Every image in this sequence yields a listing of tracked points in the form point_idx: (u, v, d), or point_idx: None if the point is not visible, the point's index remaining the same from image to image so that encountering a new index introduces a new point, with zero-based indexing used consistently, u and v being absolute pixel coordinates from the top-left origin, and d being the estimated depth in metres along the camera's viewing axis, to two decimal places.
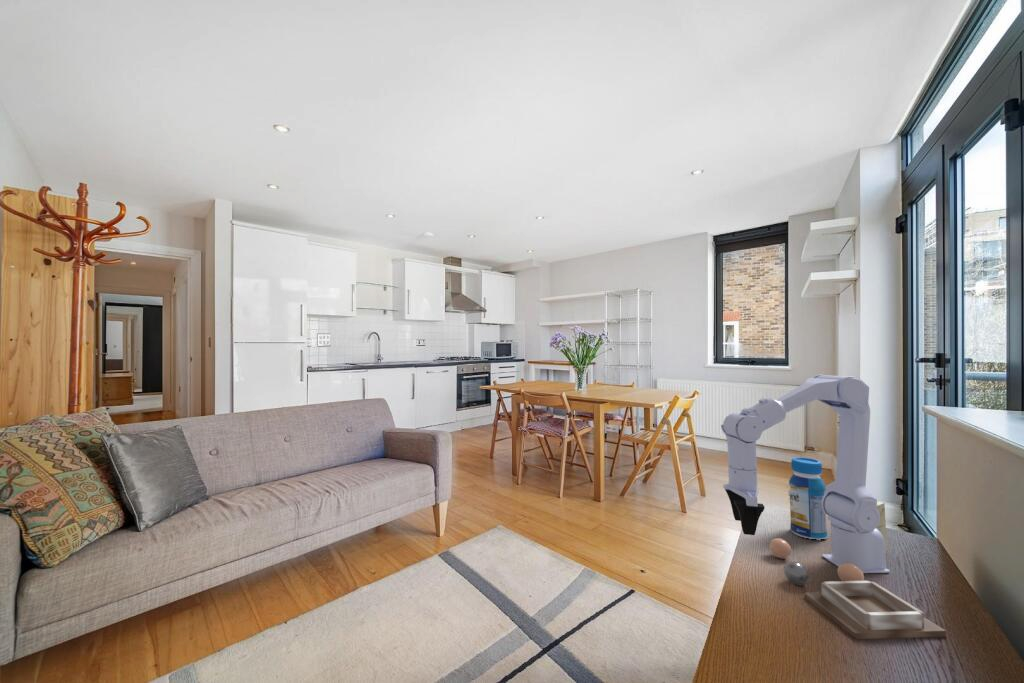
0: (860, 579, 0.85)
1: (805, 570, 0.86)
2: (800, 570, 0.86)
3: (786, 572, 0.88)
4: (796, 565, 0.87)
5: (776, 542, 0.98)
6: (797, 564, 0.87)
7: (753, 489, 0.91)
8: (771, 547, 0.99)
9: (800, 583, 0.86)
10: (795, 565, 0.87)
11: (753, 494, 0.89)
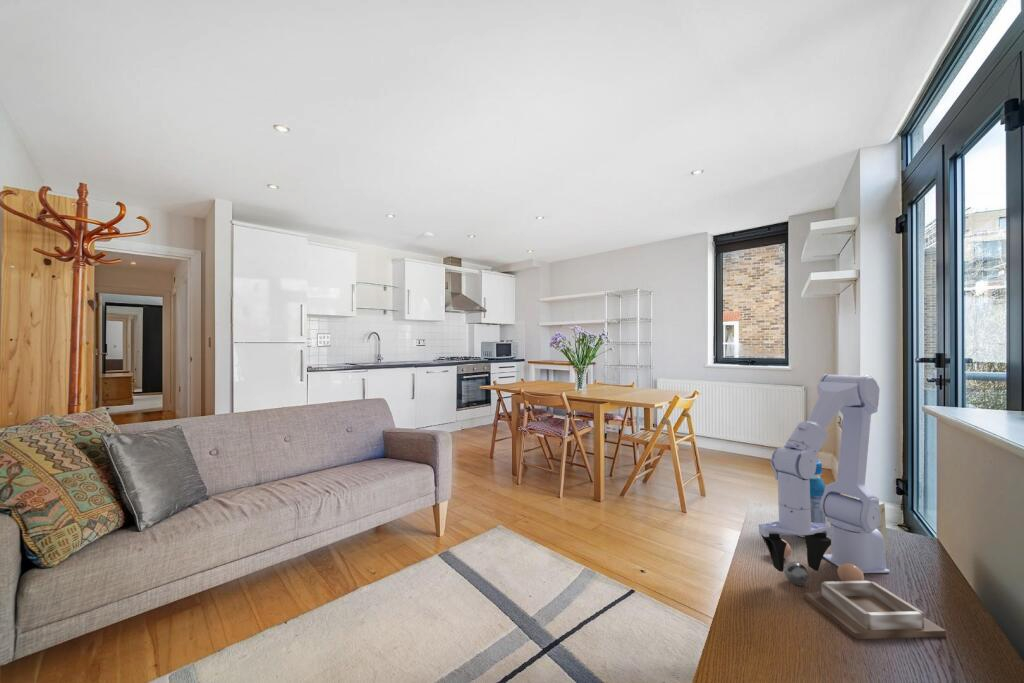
0: (860, 579, 0.85)
1: (805, 570, 0.86)
2: (800, 570, 0.86)
3: (786, 572, 0.88)
4: (796, 565, 0.87)
5: None
6: (797, 564, 0.87)
7: (788, 527, 0.86)
8: None
9: (800, 583, 0.86)
10: (795, 565, 0.87)
11: (775, 528, 0.87)
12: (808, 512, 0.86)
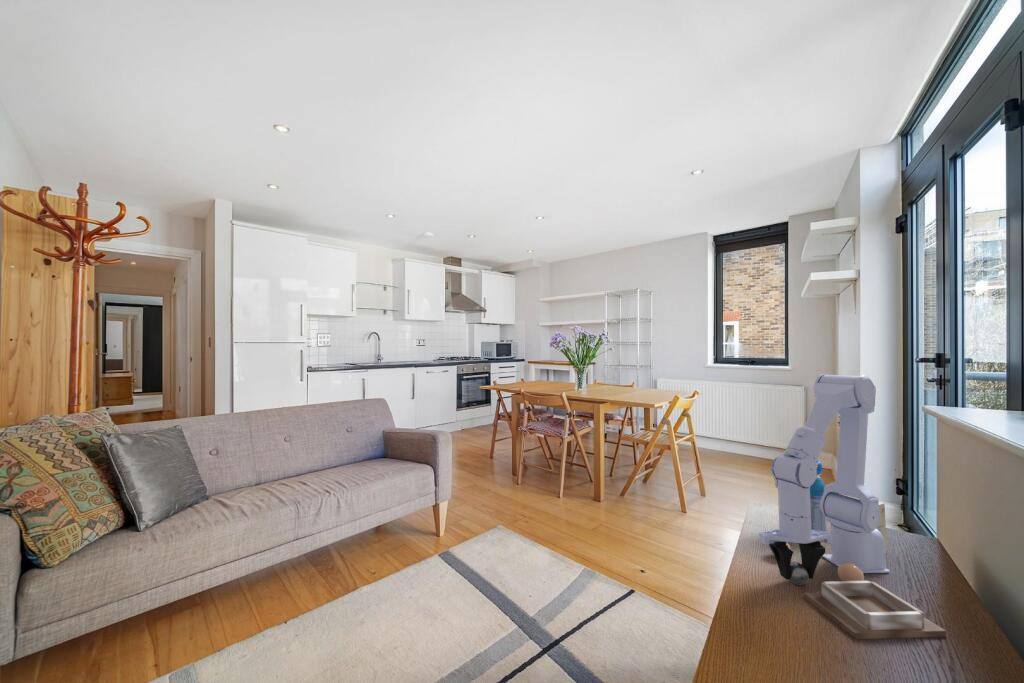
0: (860, 579, 0.85)
1: (805, 570, 0.86)
2: (800, 570, 0.86)
3: None
4: (796, 565, 0.87)
5: None
6: (797, 564, 0.87)
7: (788, 535, 0.86)
8: None
9: (800, 583, 0.86)
10: (795, 565, 0.87)
11: (776, 536, 0.87)
12: (808, 520, 0.85)
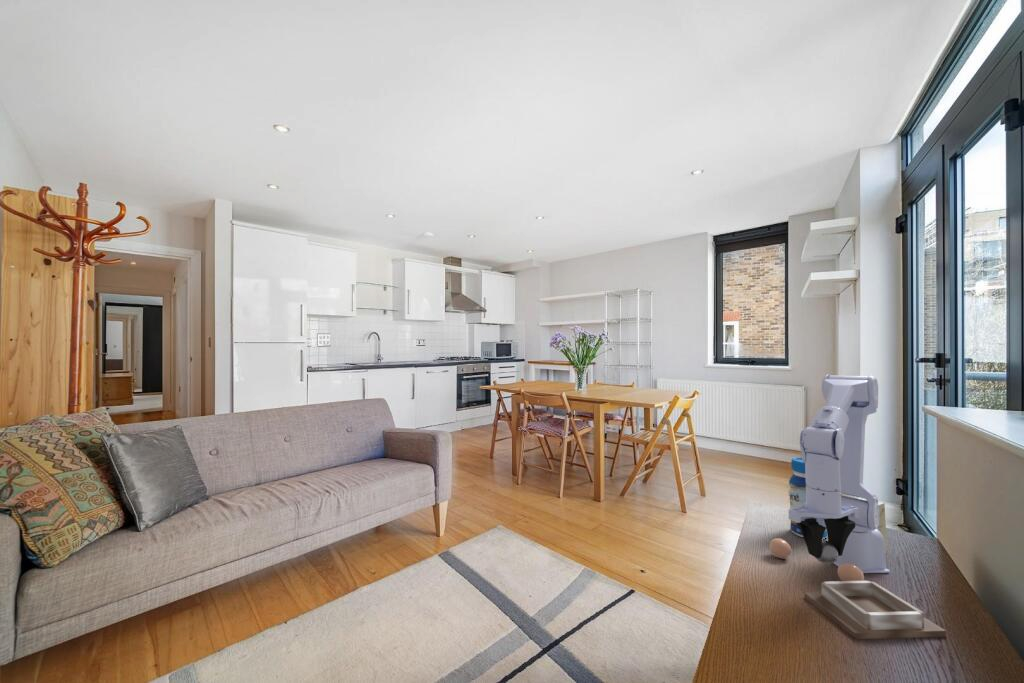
0: (860, 579, 0.85)
1: (835, 548, 0.82)
2: (831, 548, 0.82)
3: None
4: (826, 542, 0.83)
5: (776, 542, 0.98)
6: (827, 542, 0.83)
7: (819, 511, 0.81)
8: (771, 547, 0.99)
9: (830, 561, 0.81)
10: (825, 543, 0.82)
11: (807, 513, 0.82)
12: (839, 494, 0.81)
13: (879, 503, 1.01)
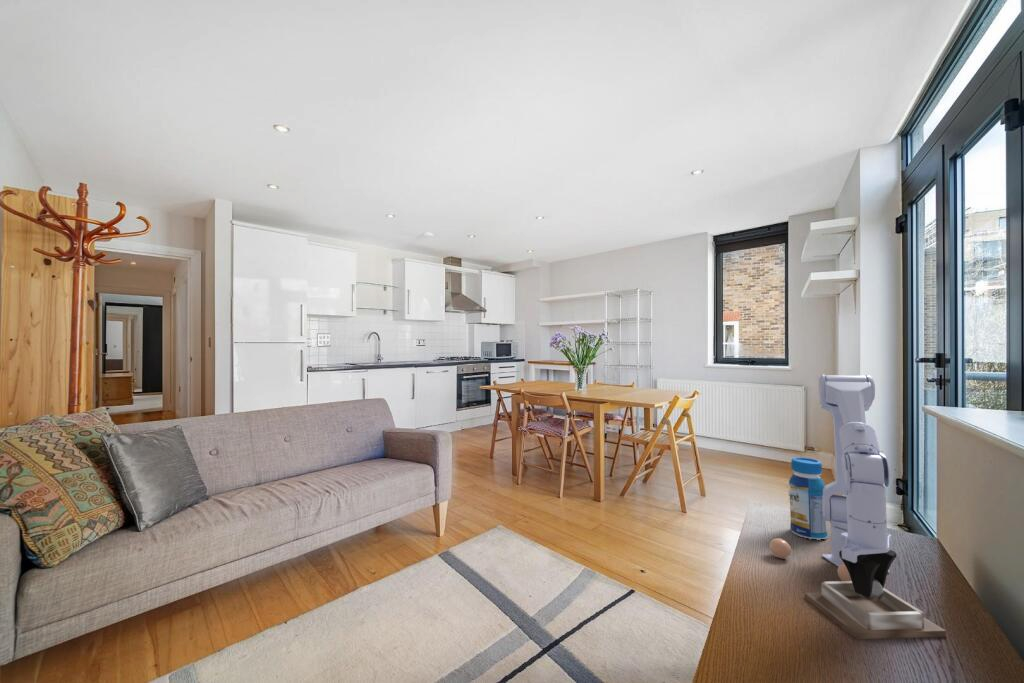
0: None
1: (879, 582, 0.76)
2: (878, 584, 0.76)
3: None
4: None
5: (776, 542, 0.98)
6: None
7: (870, 546, 0.75)
8: (771, 547, 0.99)
9: (878, 599, 0.75)
10: None
11: (860, 550, 0.74)
12: (886, 524, 0.75)
13: None
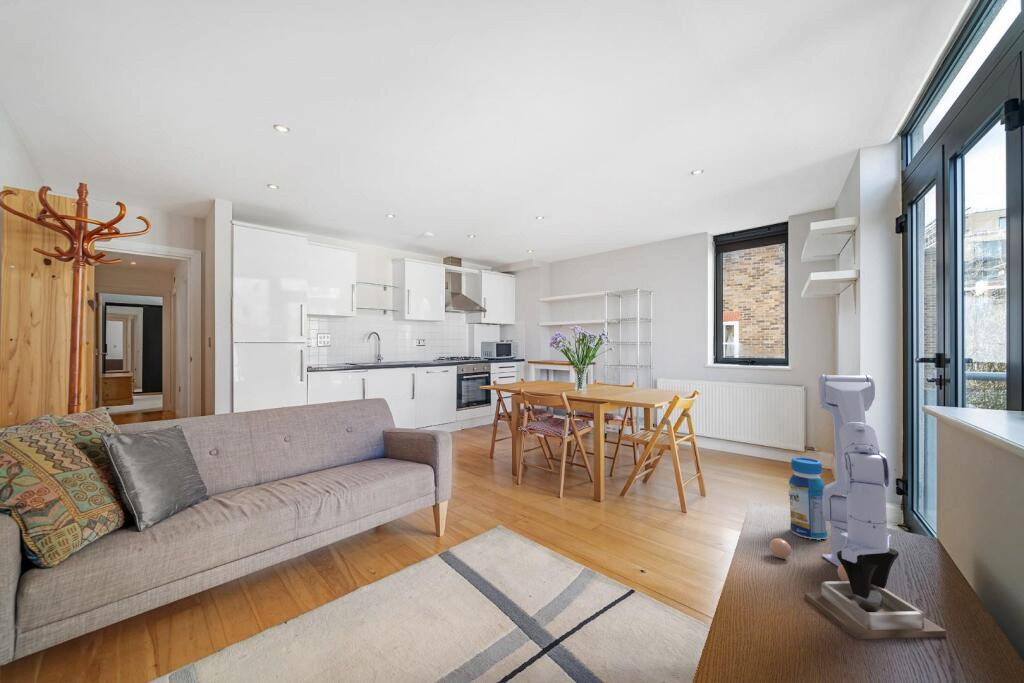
0: None
1: (879, 593, 0.76)
2: (878, 595, 0.75)
3: (863, 600, 0.76)
4: (871, 588, 0.76)
5: (776, 542, 0.98)
6: (871, 587, 0.77)
7: (870, 546, 0.75)
8: (771, 547, 0.99)
9: (879, 610, 0.75)
10: (871, 590, 0.76)
11: (860, 550, 0.74)
12: (886, 524, 0.75)
13: None
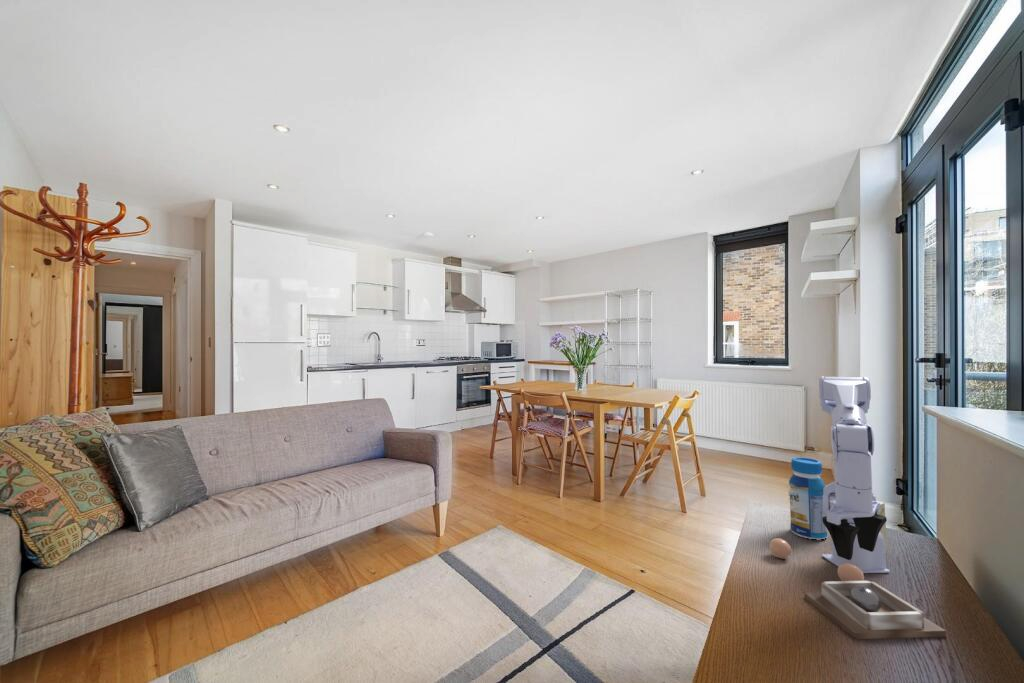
0: (860, 579, 0.85)
1: (874, 594, 0.75)
2: (873, 600, 0.75)
3: None
4: (865, 595, 0.75)
5: (776, 542, 0.98)
6: (865, 593, 0.75)
7: (855, 510, 0.80)
8: (771, 547, 0.99)
9: (877, 611, 0.75)
10: (866, 597, 0.75)
11: (845, 513, 0.79)
12: None
13: None
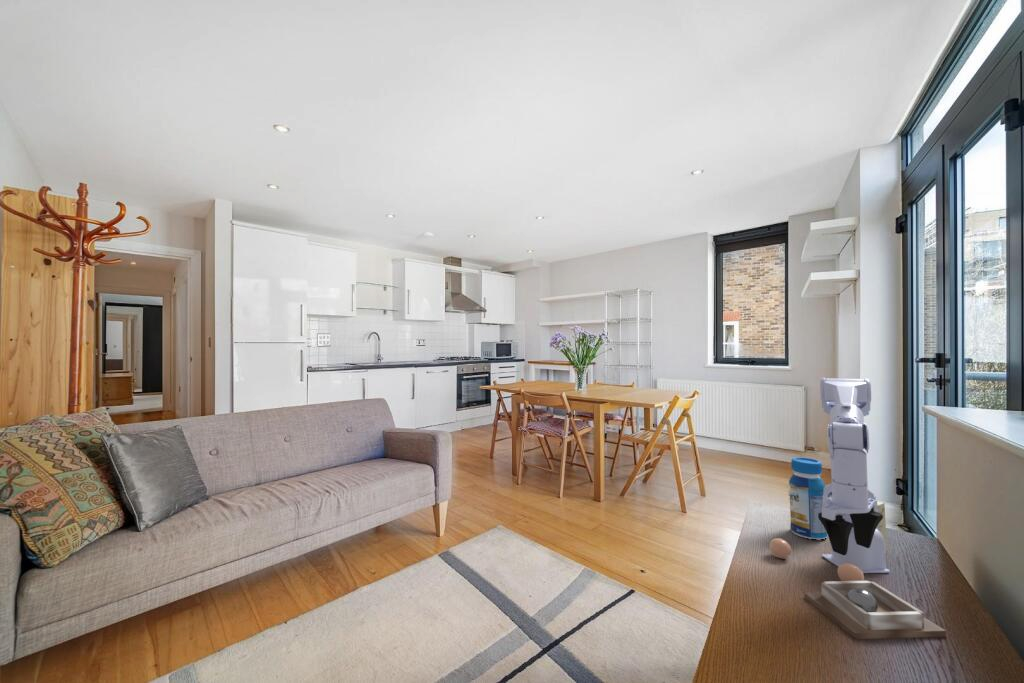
0: (860, 579, 0.85)
1: (869, 598, 0.74)
2: (869, 605, 0.74)
3: None
4: (861, 602, 0.74)
5: (776, 542, 0.98)
6: (860, 600, 0.75)
7: (850, 507, 0.81)
8: (771, 547, 0.99)
9: None
10: (862, 605, 0.74)
11: None
12: (867, 488, 0.81)
13: (879, 503, 1.01)
